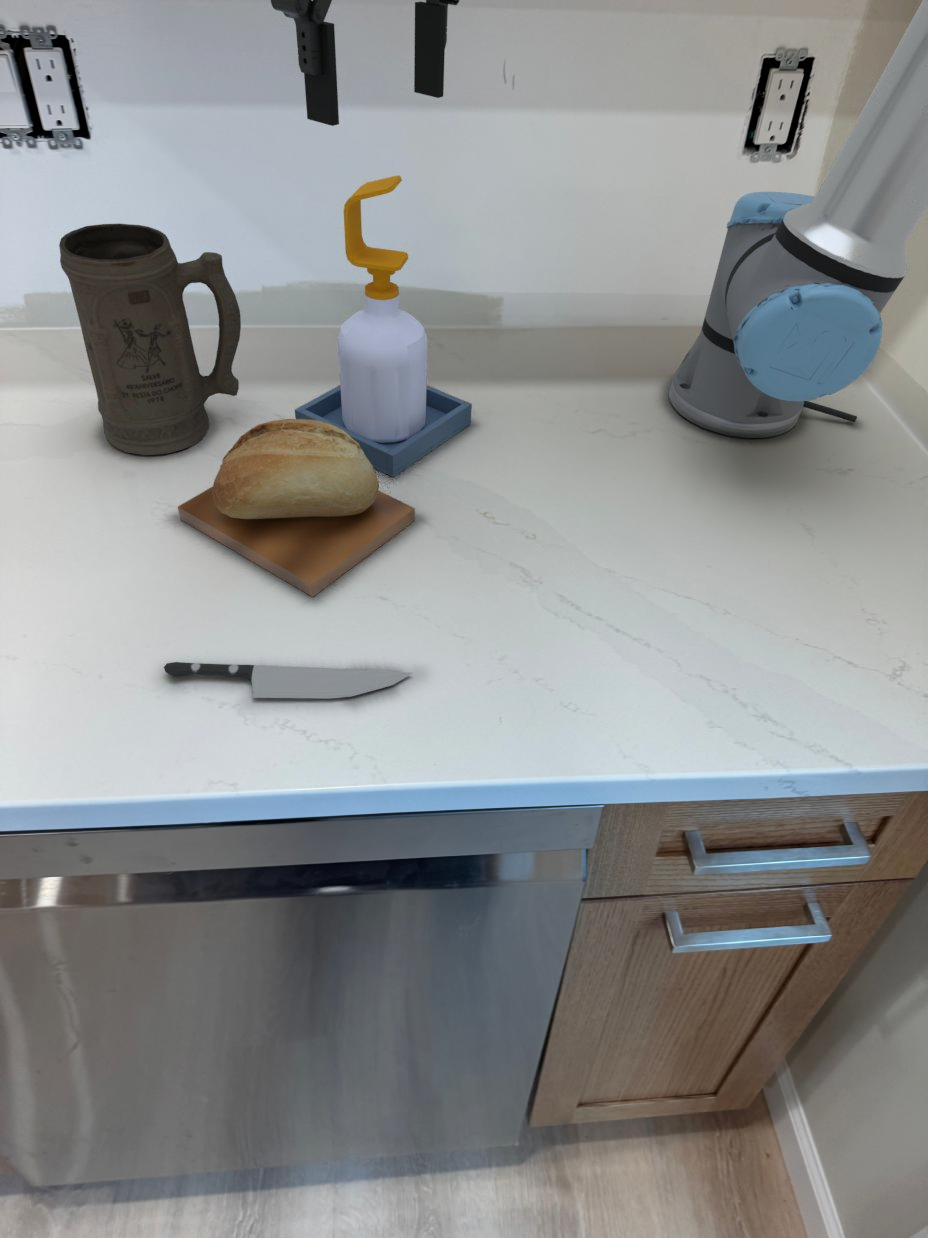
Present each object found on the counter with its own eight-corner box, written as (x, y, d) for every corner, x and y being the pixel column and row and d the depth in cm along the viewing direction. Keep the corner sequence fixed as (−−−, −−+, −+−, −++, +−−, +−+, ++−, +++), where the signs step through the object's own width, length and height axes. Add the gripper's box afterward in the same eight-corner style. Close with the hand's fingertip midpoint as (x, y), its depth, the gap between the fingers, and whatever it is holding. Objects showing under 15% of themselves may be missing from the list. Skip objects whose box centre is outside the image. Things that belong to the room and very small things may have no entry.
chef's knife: (411, 705, 62) (413, 674, 64) (412, 696, 62) (413, 665, 64) (157, 698, 62) (166, 667, 64) (153, 689, 61) (163, 658, 63)
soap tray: (470, 424, 92) (472, 403, 90) (393, 477, 84) (392, 455, 82) (378, 384, 97) (377, 363, 95) (296, 430, 89) (294, 409, 87)
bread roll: (215, 484, 79) (201, 410, 73) (370, 470, 82) (367, 398, 76) (218, 547, 72) (202, 470, 67) (386, 529, 75) (384, 455, 70)
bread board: (414, 520, 79) (414, 508, 78) (312, 597, 70) (311, 584, 69) (287, 456, 85) (285, 443, 84) (180, 519, 77) (177, 506, 76)
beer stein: (108, 467, 82) (65, 263, 69) (89, 415, 89) (47, 220, 76) (258, 444, 89) (246, 253, 75) (230, 397, 95) (214, 214, 82)
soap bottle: (414, 450, 86) (417, 200, 69) (331, 437, 87) (313, 187, 70) (434, 408, 93) (440, 169, 76) (356, 396, 94) (345, 158, 77)
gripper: (441, -247, 63) (434, 77, 78) (184, -285, 48) (236, 124, 63) (522, -245, 60) (499, 91, 75) (275, -284, 45) (307, 145, 60)
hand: (379, 107), depth 69 cm, fingers open, 13 cm apart
